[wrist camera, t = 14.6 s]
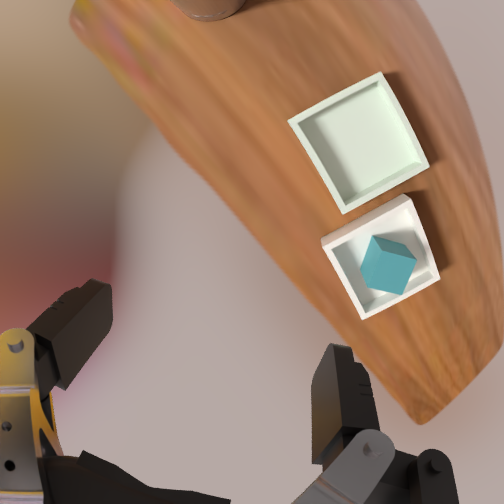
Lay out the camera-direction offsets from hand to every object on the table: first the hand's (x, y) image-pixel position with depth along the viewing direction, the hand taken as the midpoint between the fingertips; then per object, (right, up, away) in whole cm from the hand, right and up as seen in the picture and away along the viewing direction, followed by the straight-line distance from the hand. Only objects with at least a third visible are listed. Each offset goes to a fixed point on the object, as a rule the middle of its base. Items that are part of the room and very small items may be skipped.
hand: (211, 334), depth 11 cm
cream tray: (+19, +2, +29) cm, 35 cm away
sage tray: (+14, +16, +24) cm, 32 cm away
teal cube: (+19, +2, +29) cm, 34 cm away
